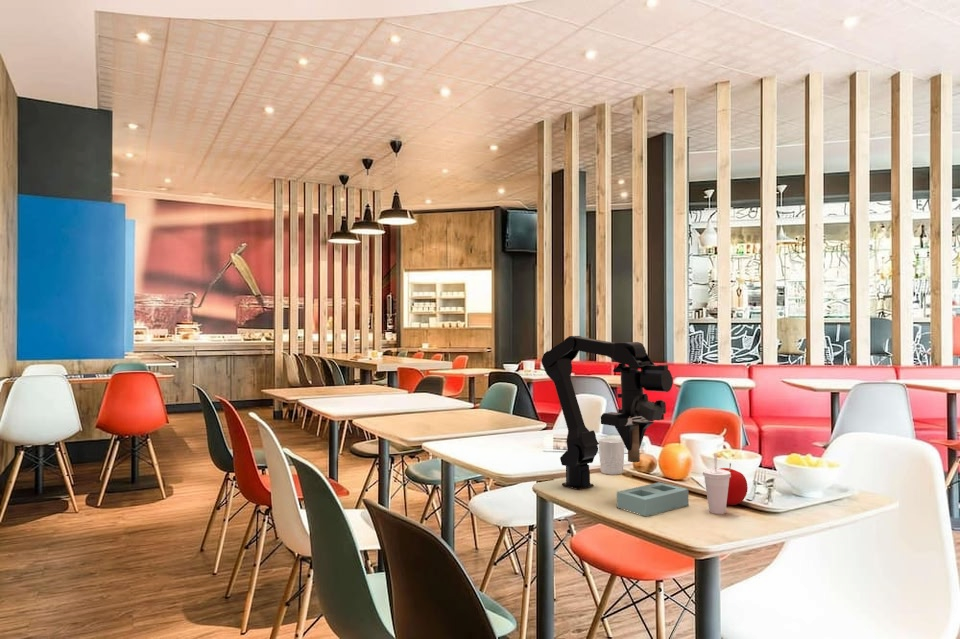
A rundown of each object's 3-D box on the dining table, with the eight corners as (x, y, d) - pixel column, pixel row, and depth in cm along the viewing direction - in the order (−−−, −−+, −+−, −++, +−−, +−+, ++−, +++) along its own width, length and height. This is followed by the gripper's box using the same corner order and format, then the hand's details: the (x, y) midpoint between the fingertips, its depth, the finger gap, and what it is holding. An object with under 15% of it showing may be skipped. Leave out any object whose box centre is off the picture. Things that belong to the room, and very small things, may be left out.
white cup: (599, 474, 189) (598, 441, 189) (598, 469, 197) (598, 437, 197) (625, 475, 188) (625, 442, 188) (624, 469, 196) (623, 437, 196)
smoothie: (698, 512, 150) (697, 454, 151) (709, 506, 155) (708, 450, 155) (725, 517, 146) (724, 457, 146) (735, 511, 151) (734, 453, 151)
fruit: (755, 507, 154) (754, 466, 154) (719, 508, 153) (718, 467, 153) (737, 497, 163) (736, 459, 163) (703, 498, 162) (702, 460, 162)
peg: (625, 461, 164) (624, 424, 164) (633, 459, 165) (632, 423, 166) (634, 462, 161) (633, 425, 161) (642, 461, 163) (641, 424, 163)
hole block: (617, 507, 155) (616, 491, 155) (659, 497, 164) (659, 482, 164) (645, 516, 147) (645, 499, 147) (688, 505, 156) (688, 489, 156)
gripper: (632, 394, 152) (633, 459, 151) (680, 389, 163) (681, 449, 162) (598, 391, 161) (599, 452, 160) (645, 386, 172) (647, 443, 171)
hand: (633, 449), depth 163 cm, fingers closed on peg, 3 cm apart
